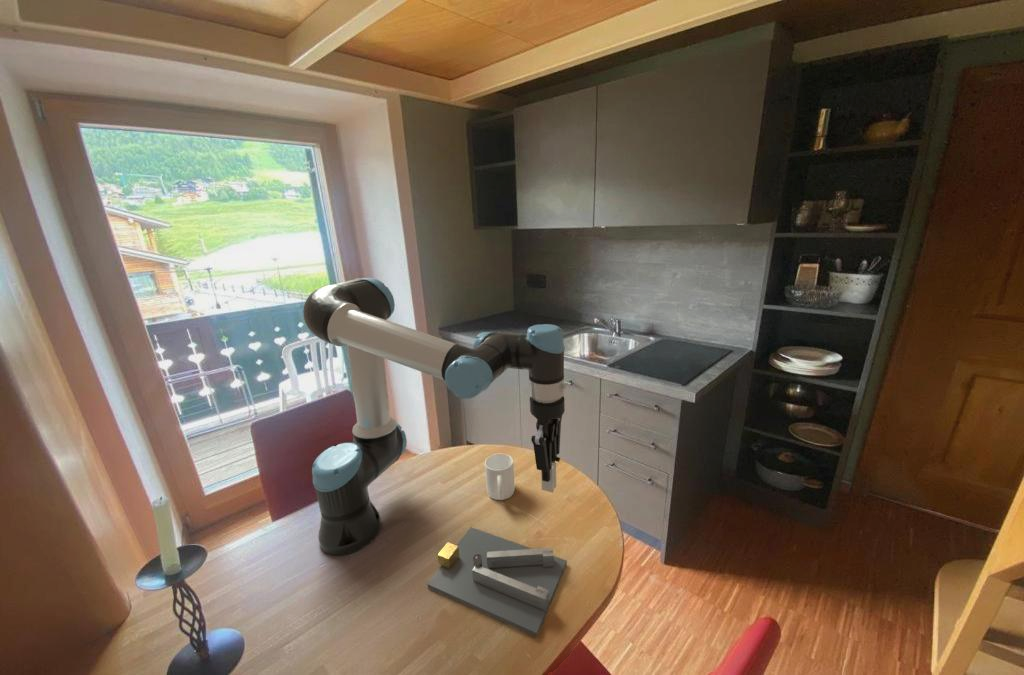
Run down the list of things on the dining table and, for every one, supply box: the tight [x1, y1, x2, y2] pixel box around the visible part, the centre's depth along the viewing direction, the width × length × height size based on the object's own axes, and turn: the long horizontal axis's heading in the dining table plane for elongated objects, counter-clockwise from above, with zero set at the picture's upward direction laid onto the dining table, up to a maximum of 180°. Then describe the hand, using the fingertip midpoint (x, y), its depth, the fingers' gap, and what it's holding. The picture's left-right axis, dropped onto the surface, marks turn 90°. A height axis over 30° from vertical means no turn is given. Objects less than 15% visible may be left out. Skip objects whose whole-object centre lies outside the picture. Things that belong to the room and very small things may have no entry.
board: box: [426, 526, 568, 638], centre depth 88 cm, size 26×18×1 cm
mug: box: [484, 452, 516, 501], centre depth 112 cm, size 12×8×10 cm
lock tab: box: [437, 541, 459, 569], centre depth 91 cm, size 3×4×3 cm
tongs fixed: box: [472, 554, 549, 611], centre depth 83 cm, size 18×3×4 cm, turn 64°
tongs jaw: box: [487, 547, 555, 568], centre depth 89 cm, size 15×2×3 cm, turn 92°
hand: (549, 487), depth 91 cm, fingers closed
